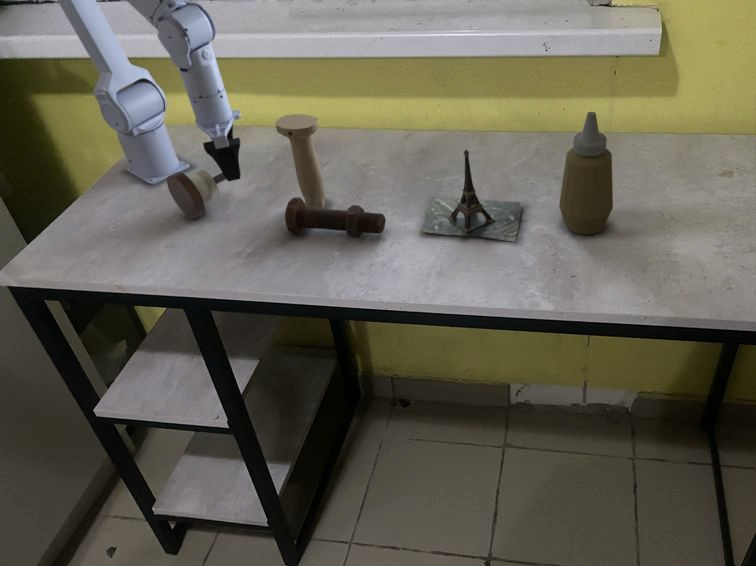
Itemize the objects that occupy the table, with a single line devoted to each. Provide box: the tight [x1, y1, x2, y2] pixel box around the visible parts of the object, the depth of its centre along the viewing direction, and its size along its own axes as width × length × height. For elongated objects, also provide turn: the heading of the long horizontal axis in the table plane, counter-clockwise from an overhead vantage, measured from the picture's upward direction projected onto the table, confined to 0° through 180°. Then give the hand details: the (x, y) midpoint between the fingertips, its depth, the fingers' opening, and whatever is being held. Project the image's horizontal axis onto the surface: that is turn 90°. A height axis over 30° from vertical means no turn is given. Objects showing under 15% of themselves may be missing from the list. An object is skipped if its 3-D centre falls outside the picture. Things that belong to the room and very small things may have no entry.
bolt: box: [284, 197, 387, 239], centre depth 110 cm, size 6×5×15 cm
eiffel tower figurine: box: [419, 149, 524, 242], centre depth 107 cm, size 15×10×13 cm
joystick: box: [166, 168, 242, 220], centre depth 118 cm, size 11×8×8 cm, turn 139°
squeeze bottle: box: [558, 111, 614, 236], centre depth 103 cm, size 8×8×18 cm
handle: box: [274, 113, 327, 209], centre depth 113 cm, size 5×6×15 cm
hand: (231, 168), depth 120 cm, fingers open, 7 cm apart
